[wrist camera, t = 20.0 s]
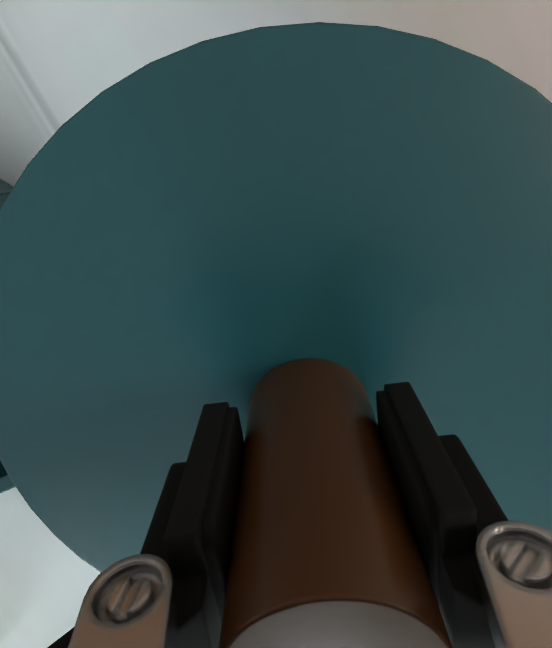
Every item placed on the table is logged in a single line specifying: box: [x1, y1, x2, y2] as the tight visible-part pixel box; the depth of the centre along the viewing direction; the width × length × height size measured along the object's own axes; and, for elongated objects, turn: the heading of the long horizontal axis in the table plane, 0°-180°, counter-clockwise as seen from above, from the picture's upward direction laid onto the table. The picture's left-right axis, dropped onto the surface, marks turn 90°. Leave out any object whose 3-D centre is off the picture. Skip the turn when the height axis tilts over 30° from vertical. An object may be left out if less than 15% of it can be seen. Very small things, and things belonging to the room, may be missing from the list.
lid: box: [0, 22, 552, 648], centre depth 10 cm, size 18×18×8 cm
